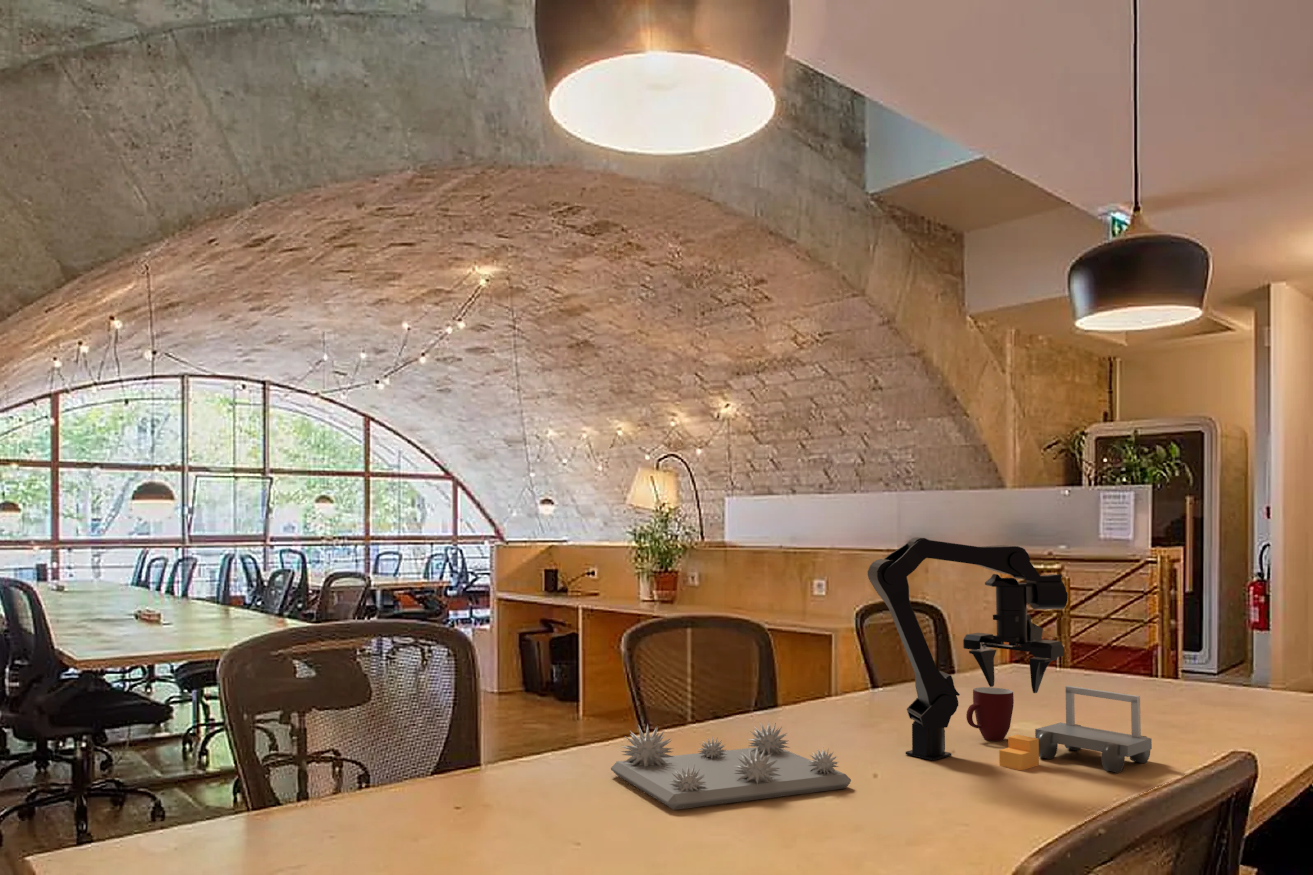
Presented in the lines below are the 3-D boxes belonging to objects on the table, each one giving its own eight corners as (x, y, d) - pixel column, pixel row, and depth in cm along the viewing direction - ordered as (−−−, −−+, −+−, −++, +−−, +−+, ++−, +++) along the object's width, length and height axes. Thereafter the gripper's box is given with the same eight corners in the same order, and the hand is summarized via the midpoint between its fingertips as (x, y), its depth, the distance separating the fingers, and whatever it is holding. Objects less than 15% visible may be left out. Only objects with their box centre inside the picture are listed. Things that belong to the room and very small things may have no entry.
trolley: (1120, 776, 185) (1119, 705, 186) (1027, 757, 198) (1026, 691, 199) (1158, 762, 195) (1157, 695, 196) (1068, 745, 209) (1067, 682, 210)
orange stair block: (1021, 771, 189) (1020, 743, 189) (999, 766, 192) (999, 739, 192) (1039, 765, 193) (1038, 738, 193) (1017, 761, 196) (1017, 734, 196)
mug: (985, 746, 207) (985, 696, 208) (956, 738, 214) (955, 689, 215) (1022, 741, 212) (1021, 692, 213) (992, 733, 219) (992, 686, 220)
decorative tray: (670, 817, 159) (671, 752, 160) (606, 777, 182) (607, 720, 183) (855, 792, 174) (855, 733, 175) (773, 758, 197) (774, 706, 198)
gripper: (1076, 610, 201) (1078, 691, 200) (990, 603, 215) (991, 679, 213) (1048, 614, 193) (1050, 698, 192) (960, 606, 207) (962, 685, 206)
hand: (1013, 689), depth 201 cm, fingers open, 9 cm apart
